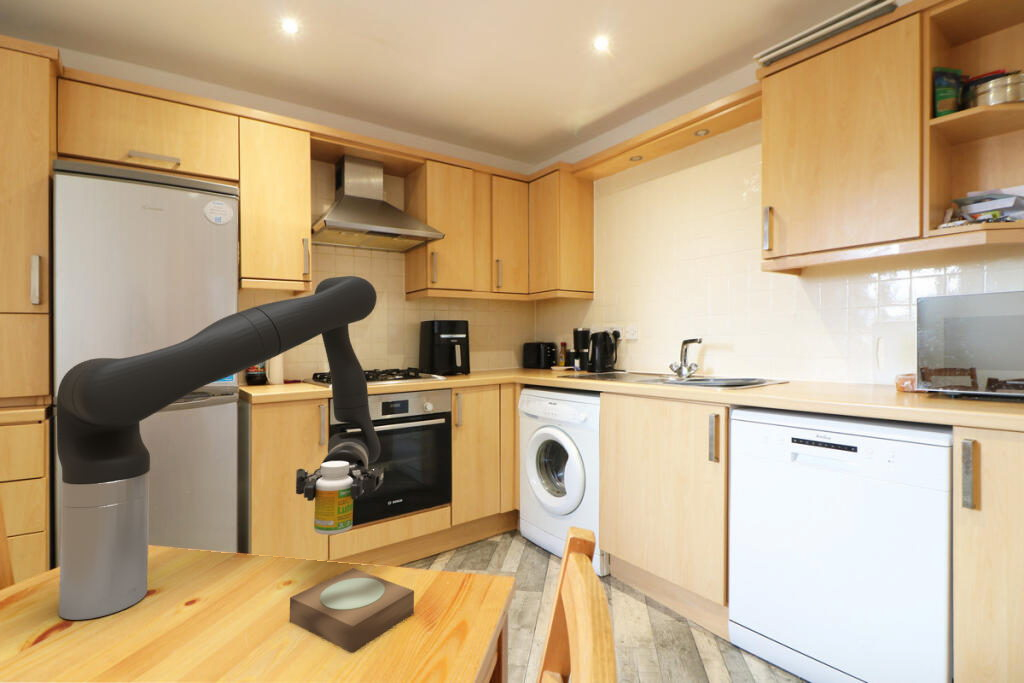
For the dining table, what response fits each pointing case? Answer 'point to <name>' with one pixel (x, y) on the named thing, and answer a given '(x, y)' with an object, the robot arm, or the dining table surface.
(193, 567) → the dining table surface
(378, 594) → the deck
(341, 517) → the supplement bottle
